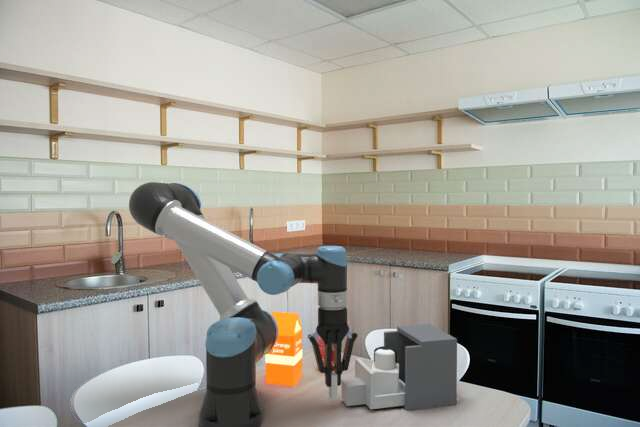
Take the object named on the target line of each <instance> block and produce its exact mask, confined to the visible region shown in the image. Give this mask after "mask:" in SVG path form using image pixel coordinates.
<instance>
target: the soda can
mask: <svg viewBox="0 0 640 427" xmlns="http://www.w3.org/2000/svg"><path fill="white" fill-rule="evenodd" d="M318 339H319V340H318V341H317V343H318V345H319V349H320V353H321V357H322V361H323V365H324V367H325V346H324V341H323V340H322V339H321V337H320V336H318ZM332 371H335V370H334V343H333V344H332Z"/></svg>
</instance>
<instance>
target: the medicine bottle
mask: <svg viewBox="0 0 640 427" xmlns="http://www.w3.org/2000/svg"><path fill="white" fill-rule="evenodd" d="M370 369H371V370H372V371H373V372H374V373H375V396H376V395H385V394H394V393H399V364H398V363H397V351H396V350H395V349H394V348H392V347H387V346H384V345H383V346H378V347H375V348H374V350H373V362H372V366H371V368H370Z"/></svg>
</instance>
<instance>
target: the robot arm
mask: <svg viewBox="0 0 640 427" xmlns="http://www.w3.org/2000/svg"><path fill="white" fill-rule="evenodd" d="M201 207H202V201H201V199H200V197H199V195H198V192H196V191H195V190H194V189H193V188H192V187H190V186H188V185H186V184H182V183H180V182H179V183H178V182H171V183H168V182H166V183H165V182H159V181H158V182H157V181H155V182H154V181H151V182H146V183H142V184H141V185H139V186H138V187H137V188H135V189H134V190H133V192H132V193H131V195H130V197H129V201H128V210H129V212H130V215H131V217H132V219H133V220H134V221H135V222H136V223H137V224H138V225H139V226H141V227H143V228H145V229H146V230H148V231H150V232H152V233H154V234H156V235H157V236H161V237H162V236H164V238H165V239H166V240H171V241H173V242H175V244H176V245H177V247H178V249H179V251H180V252H181V254H182V255H183V256H184V259H185V260H186V262H187V263H188V265H189V267H190V269H191V270H192V272H193V273H194V275H195V277H196V278H197V280H198V281H199V283H200V285H201V286H202V288H203V290H204V292H205V293H206V295H207V296H208V299H209V300H210V302H211V303H212V304H213V307H215V309H216V311H217V312H218V313H217V314H219V320H217V321H215V322H214V323H212V324H211V325H210V326H209V327H208V329H207V331H206V337H205V338H206V339H205V344H204V346H205V352H206V353H205V355H206V356H205V357H206V359H205V364H206V366H205V368H206V369H205V371H206V373H205V374H206V378H205V379H206V388H205V389H206V390H205V394H204V397H203V400H202V404H201V407H200V410H199V414H198V425H199V427H259V426H260V425H261V424H262V423H263V421H264V407H263V404H262V402H261V399H260V398H261V397H260V395H259V392H258V389H257V383H256V382H257V380H256V378H257V373H256V372H257V363H258V362H259V361H260V360H261V359H262V358H263V357H265V355H266V354H267V353H269V352H270V351H271V349H272V348H273V346H274V345H275V343H276V341H277V338H278V325H277V322H276V320H275V318H274V317H273V316H272V315H271V314H270V312H269V311H267V310H266V311H265V310H263V309H262V308H261V306H260V304H259V303H258V301H257V300H256V299H251V298H249V297H248V296H247V294H246V292H245V291H244V289H243V287H242V286H241V285H240V283H239V281H238V279H237V278H236V277H235V275H234V273H233V271H232V270H234V271H235V272H237V273H239V274H241V275H243V276H244V277H247V278H248V279H250V280H252V281H255V282H256V283H257V285H258V287H259V288H260V290H261V291H262V292H264V293H265V294H267V295H271V296H276V295H280V294H282V293H286V292H287V291H288V290H290V289H291V288H292V287H293V286H294V287H295V285H297V284H317V306H318V309H317V325H316V328H315V331H314V332H313V333H312V334H308V335H307V339H308V340H309V342H310V343H311V346H312V350H313V354H314V358H315V362H316V366H317V369H318V370H319V372H320V373H321V374H324V375H325V376H324V377H325V378H324V379H325V380H324V381H325V383H324V384H325V386H326V387H327V388H328V397H329V398H330V400H331V401H332V402H333V401H334V402H335V401H338V398H339V397H338V387H340V386H341V379H342V374H343V372H344V371H345V372H347V371H348V370H349V366H350V362H351V357H352V353H353V348H354V344H355V341H356V340H357V339H358V337H359V336H358V333H357V332H355V331H354V330H351V329H350V327H349V325H348V308H347V306H348V260H347V250H346V249H345V247H343V246H341V245H340V246H339V245H324V246H323V245H322V246H319V247H317V252H316V253H312V254H310V253H289V252H285V253H276V254H275V253H271V252H269V251H267V250H266V249H264V248H261V247H259V246H258V245H256V244H254V243H252V242H250V241H248V240H246V239H245V238H243V237H240V236H238V235H236V234H235V233H232V232H231V231H229V230H227V229H225V228H223V227H221V226H220V225H217V224H215V223H213V222H212V221H210V220H208V219H206V218H205V216H204V214H203V213H202V211H201V210H202V209H201ZM231 269H232V270H231ZM318 336H320V337H321V339H322V340H323V341H324V346H325V367H324V365H323V361H322V357H321V353H320V349H319V345H318V343H317V341H318V340H319V339H318ZM345 337H346V341H345V345H344V349H343V353H342V347H343V344H342V343H343V341H344V339H345ZM333 343H334V370H335V371H332V344H333Z"/></svg>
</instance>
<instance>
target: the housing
mask: <svg viewBox="0 0 640 427" xmlns="http://www.w3.org/2000/svg"><path fill="white" fill-rule="evenodd" d="M383 346H387V347H392V348H394V349H395V350H396V351H397V363H398V364H399V379H400V380H401V381H403V382H404V383H405V405H403V406H401V407H402V408H403V409H404V410H405V411H406V412H407V411H408V412H410V411H417V410H426V409H433V408H441V407H451V406H457V397H458V396H457V394H458V393H457V392H458V391H457V389H458V388H457V386H458V384H457V383H458V381H457V380H458V375H457V374H458V373H457V372H458V371H457V370H458V338H456V337H454V336H452V335H451V334H449V333H446V332H445V331H443V330H441V329H439V328H437V327H435V326H434V325H431V324H429V323H427V324H426V323H424V324H414V325H400V326H397V327H396V330H391V331H390V330H389V331H384V332H383Z"/></svg>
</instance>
